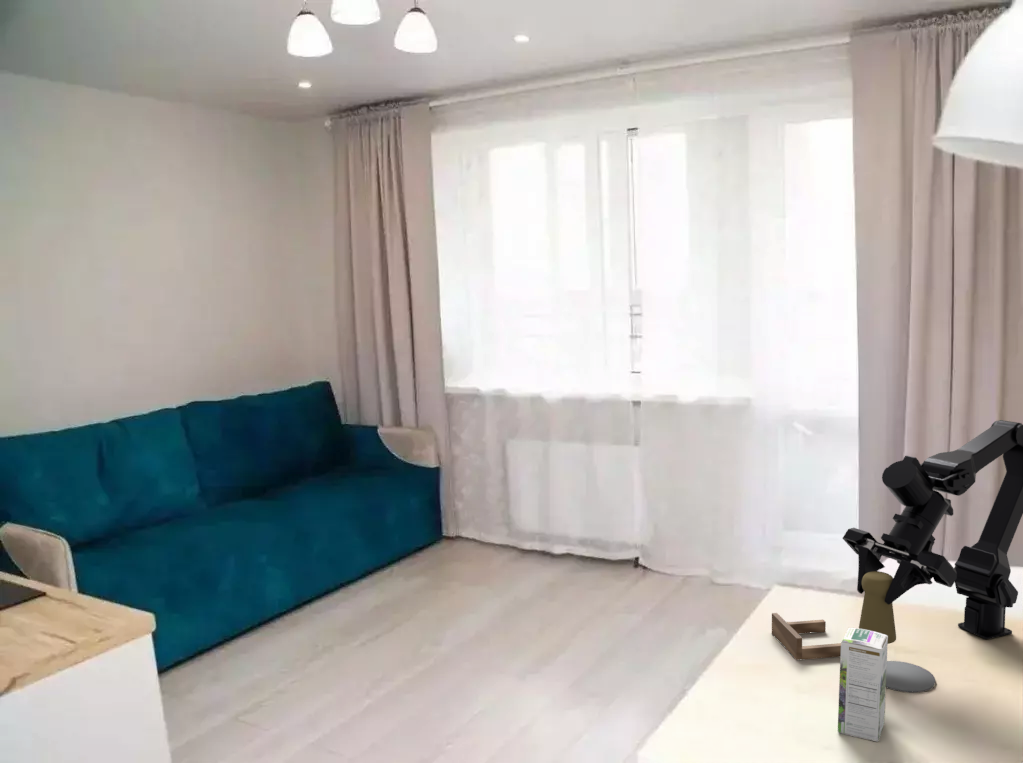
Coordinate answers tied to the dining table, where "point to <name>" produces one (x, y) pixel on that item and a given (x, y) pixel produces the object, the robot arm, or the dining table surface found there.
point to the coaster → (908, 677)
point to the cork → (877, 605)
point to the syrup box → (862, 683)
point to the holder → (793, 640)
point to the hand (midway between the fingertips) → (872, 597)
